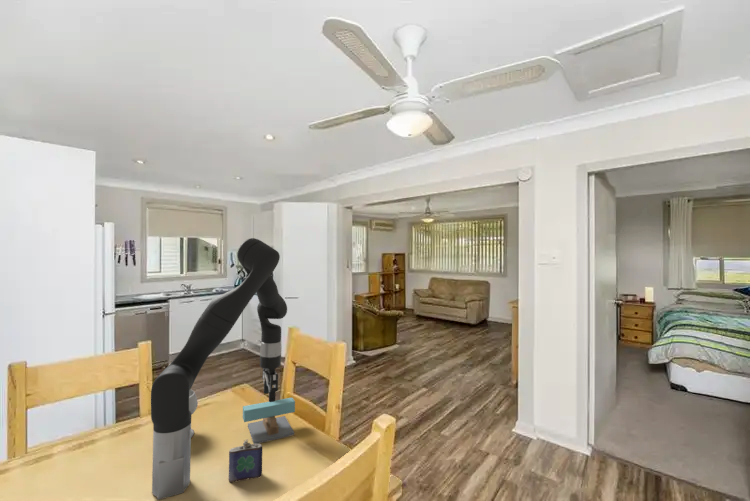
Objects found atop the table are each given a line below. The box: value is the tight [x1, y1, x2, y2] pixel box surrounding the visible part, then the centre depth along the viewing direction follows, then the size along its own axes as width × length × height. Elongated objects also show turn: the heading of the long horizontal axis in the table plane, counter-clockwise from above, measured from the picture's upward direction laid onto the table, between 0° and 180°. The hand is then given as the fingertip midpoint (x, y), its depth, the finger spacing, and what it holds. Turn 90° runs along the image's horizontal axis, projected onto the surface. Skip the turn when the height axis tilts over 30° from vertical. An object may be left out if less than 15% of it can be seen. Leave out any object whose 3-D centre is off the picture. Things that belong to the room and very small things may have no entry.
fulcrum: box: [247, 415, 295, 444], centre depth 129 cm, size 14×14×6 cm
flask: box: [228, 439, 263, 483], centre depth 103 cm, size 9×3×11 cm, turn 109°
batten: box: [242, 397, 296, 423], centre depth 129 cm, size 4×18×4 cm, turn 118°
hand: (269, 397), depth 130 cm, fingers open, 8 cm apart
